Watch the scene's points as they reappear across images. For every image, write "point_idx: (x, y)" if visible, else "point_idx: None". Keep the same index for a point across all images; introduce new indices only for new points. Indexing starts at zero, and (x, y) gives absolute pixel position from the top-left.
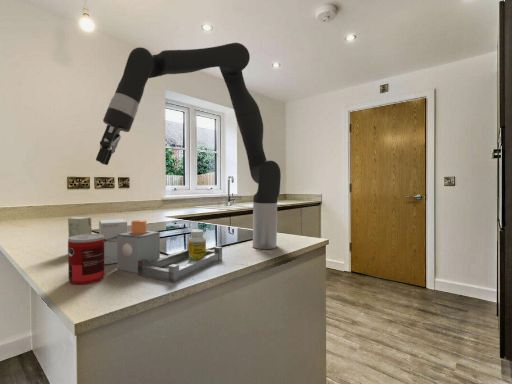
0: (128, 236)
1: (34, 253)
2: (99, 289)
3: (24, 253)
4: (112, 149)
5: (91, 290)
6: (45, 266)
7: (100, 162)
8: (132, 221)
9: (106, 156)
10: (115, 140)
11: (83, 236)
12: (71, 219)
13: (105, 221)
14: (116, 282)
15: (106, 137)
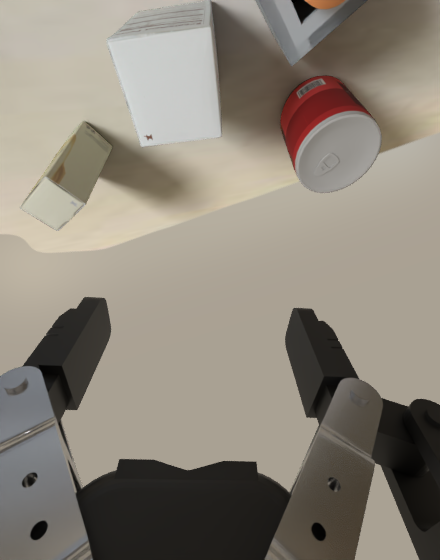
0: (345, 17)
1: (83, 228)
2: (394, 80)
3: (83, 241)
4: (54, 417)
5: (386, 97)
6: (184, 196)
7: (110, 332)
8: (327, 2)
9: (325, 338)
10: (362, 520)
11: (308, 165)
12: (67, 221)
13: (185, 124)
14: (380, 39)
15: (435, 531)
